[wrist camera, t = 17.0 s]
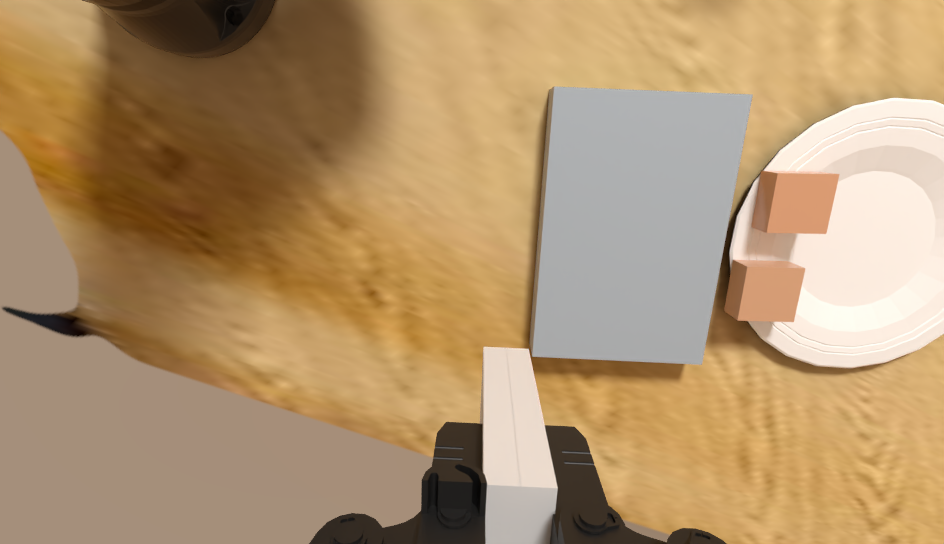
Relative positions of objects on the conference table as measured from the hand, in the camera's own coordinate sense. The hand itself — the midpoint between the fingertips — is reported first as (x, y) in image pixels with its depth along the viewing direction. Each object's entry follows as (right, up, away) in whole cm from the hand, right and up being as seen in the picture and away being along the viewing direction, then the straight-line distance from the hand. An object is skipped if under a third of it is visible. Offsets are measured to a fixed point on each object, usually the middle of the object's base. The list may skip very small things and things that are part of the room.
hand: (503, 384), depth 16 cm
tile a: (+27, +10, +27) cm, 39 cm away
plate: (+35, +7, +29) cm, 46 cm away
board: (+13, +8, +29) cm, 33 cm away
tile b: (+25, +2, +29) cm, 38 cm away
